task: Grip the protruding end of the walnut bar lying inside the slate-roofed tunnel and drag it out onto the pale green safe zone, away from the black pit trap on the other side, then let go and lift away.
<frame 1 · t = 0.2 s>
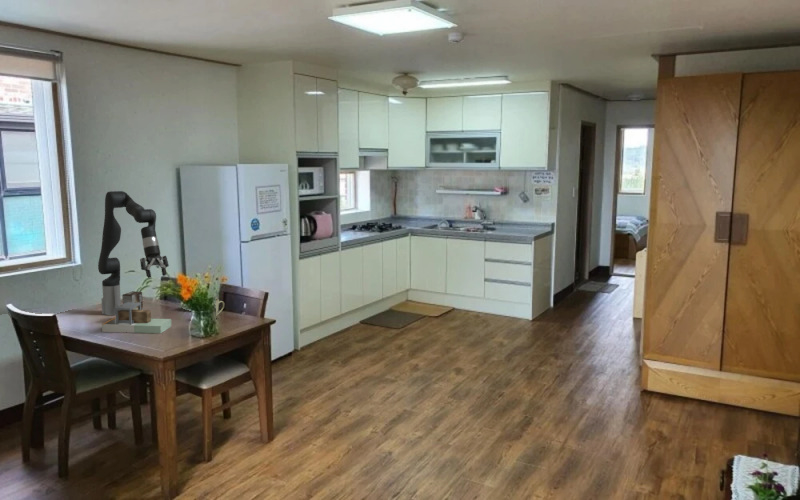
hand: (157, 276, 304), 30 cm above the table, tool tilted 20°, fingers open, 8 cm apart
walnut bar: (134, 321, 313), point 4 cm above the table, touching tunnel deck
tunnel deck: (132, 328, 313), on the table
coffee box: (133, 321, 329), on the table
mug: (212, 320, 335), on the table
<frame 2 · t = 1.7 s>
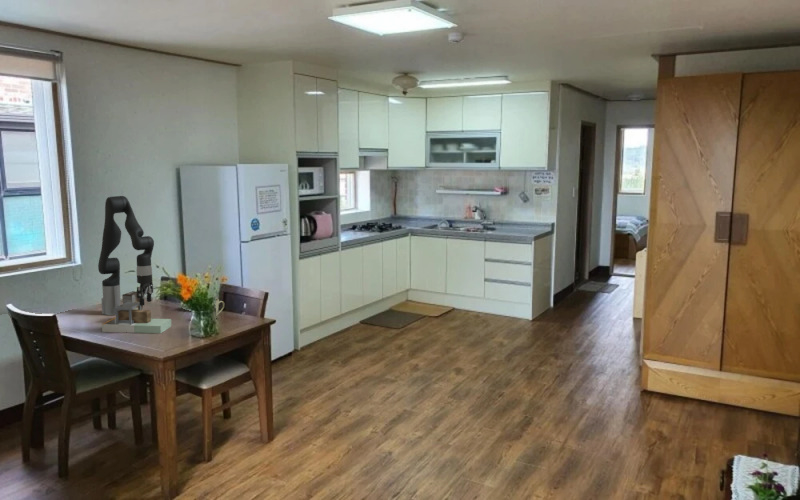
hand: (145, 303, 311), 14 cm above the table, tool pointing down, fingers open, 8 cm apart
nothing on the table moved.
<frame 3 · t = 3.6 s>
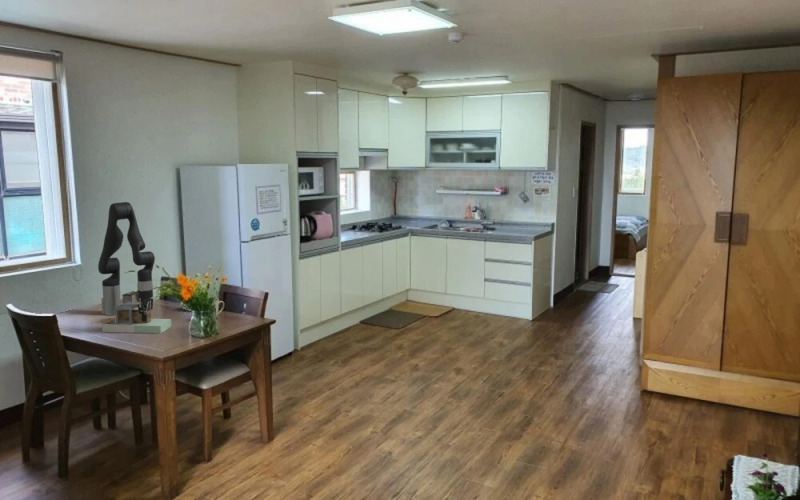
hand: (146, 319, 313), 5 cm above the table, tool pointing down, fingers closed on walnut bar, 4 cm apart
walnut bar: (134, 321, 313), point 4 cm above the table, touching gripper, tunnel deck
everything else where it was.
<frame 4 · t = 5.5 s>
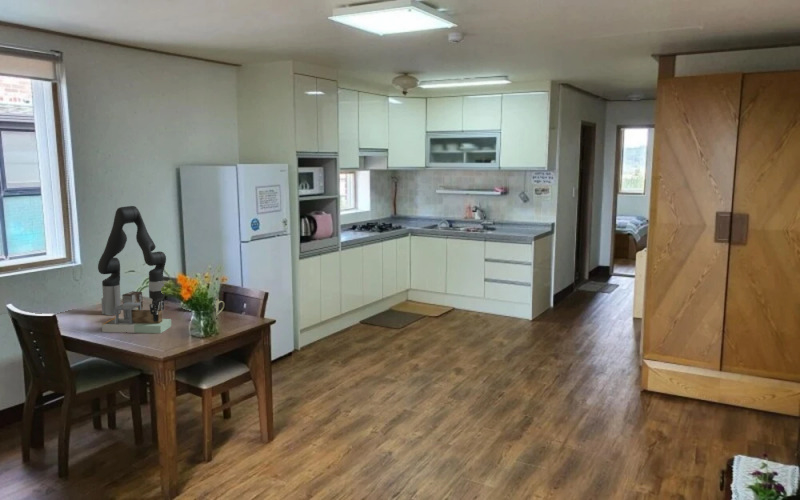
hand: (157, 319, 312), 5 cm above the table, tool pointing down, fingers closed on walnut bar, 4 cm apart
walnut bar: (145, 321, 313), point 4 cm above the table, touching gripper
everything else where it was.
when the fingers open (5 cm above the table, at t = 7.6 s): walnut bar stays where it is, resting on tunnel deck.
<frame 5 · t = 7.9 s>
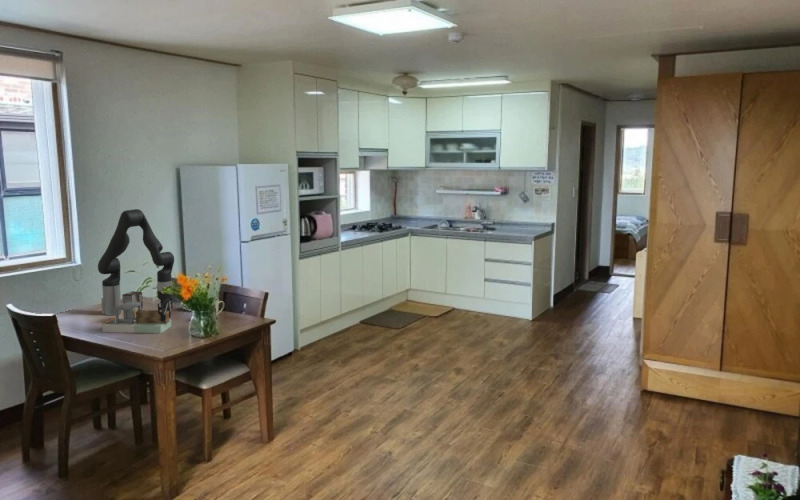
hand: (165, 319, 313), 6 cm above the table, tool pointing down, fingers open, 6 cm apart
walnut bar: (153, 322, 313), point 4 cm above the table, touching tunnel deck
everything else where it was.
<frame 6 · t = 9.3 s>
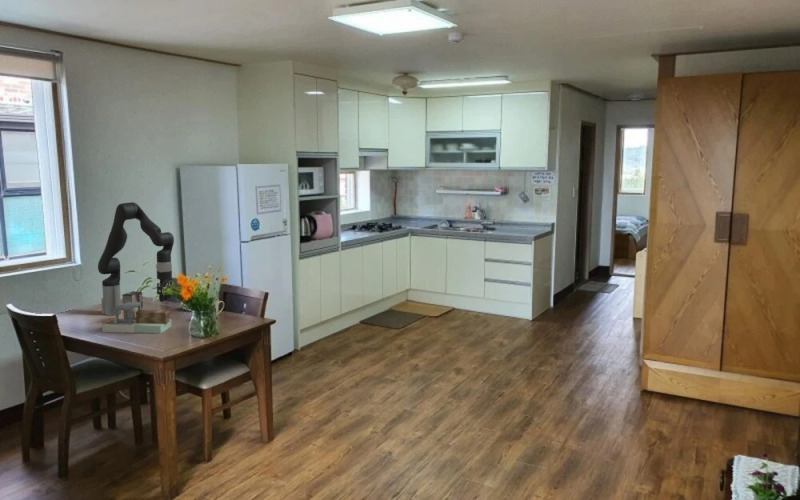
hand: (165, 299, 311), 17 cm above the table, tool pointing down, fingers open, 8 cm apart
nothing on the table moved.
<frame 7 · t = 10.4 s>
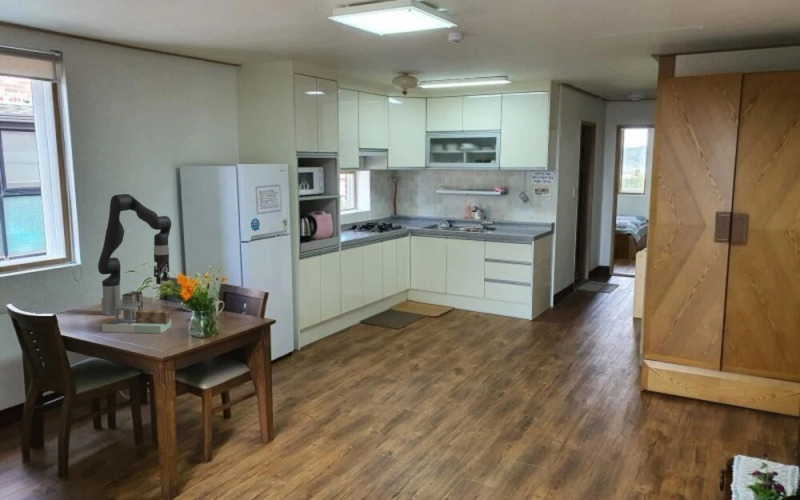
hand: (161, 282, 316), 25 cm above the table, tool pointing down, fingers open, 8 cm apart
nothing on the table moved.
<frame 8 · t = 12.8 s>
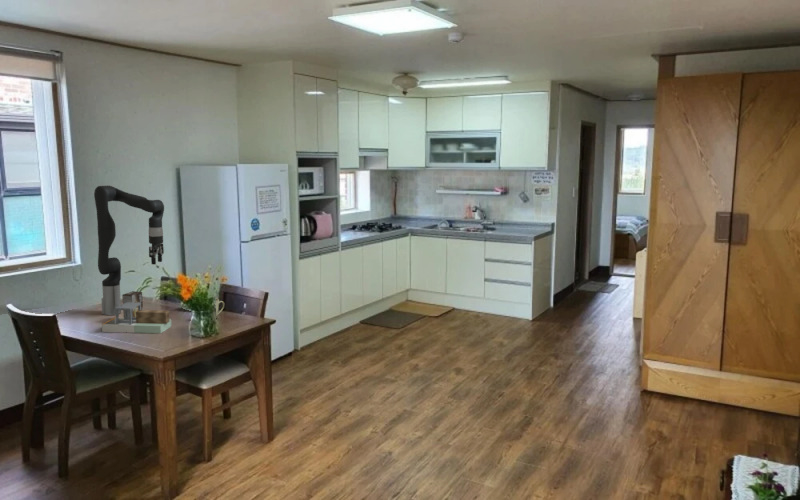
hand: (156, 263, 332), 32 cm above the table, tool pointing down, fingers open, 8 cm apart
nothing on the table moved.
at the end: walnut bar 2.7 cm from the target spot on the tunnel deck, point 4.0 cm above the tunnel deck's base; walnut bar tilted 0°; the gripper is holding nothing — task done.
